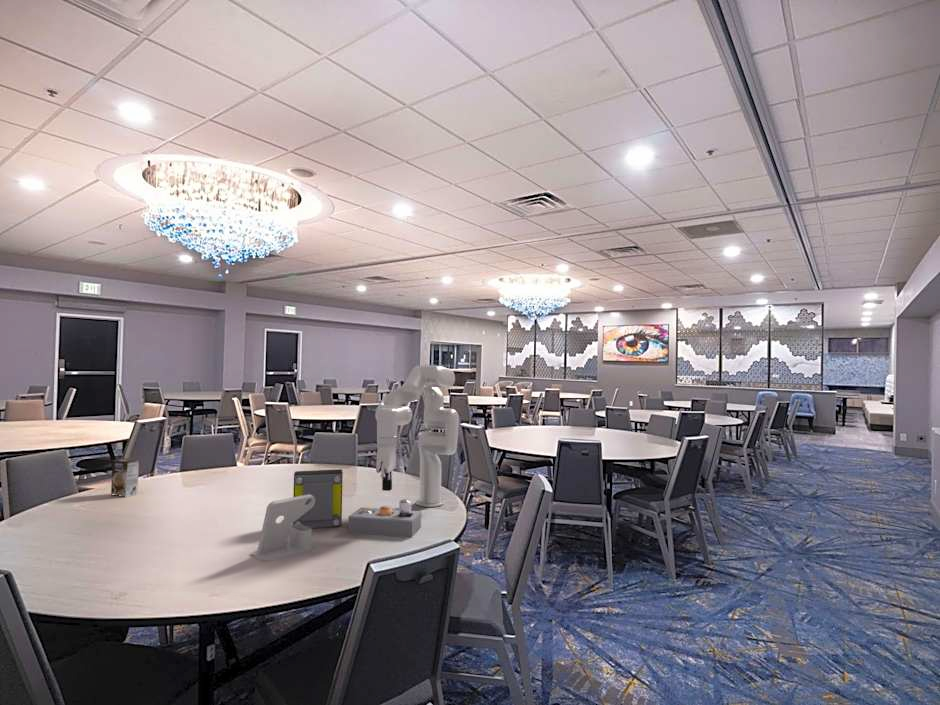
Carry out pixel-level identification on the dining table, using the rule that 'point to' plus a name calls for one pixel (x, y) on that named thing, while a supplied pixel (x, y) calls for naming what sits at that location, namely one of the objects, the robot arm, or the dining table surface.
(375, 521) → the grey rectangular block
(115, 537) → the dining table surface
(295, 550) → the phone holder
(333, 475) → the electrical component
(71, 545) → the dining table surface
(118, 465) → the coffee box
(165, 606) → the dining table surface
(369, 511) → the plunger
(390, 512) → the plunger rust
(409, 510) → the plunger
